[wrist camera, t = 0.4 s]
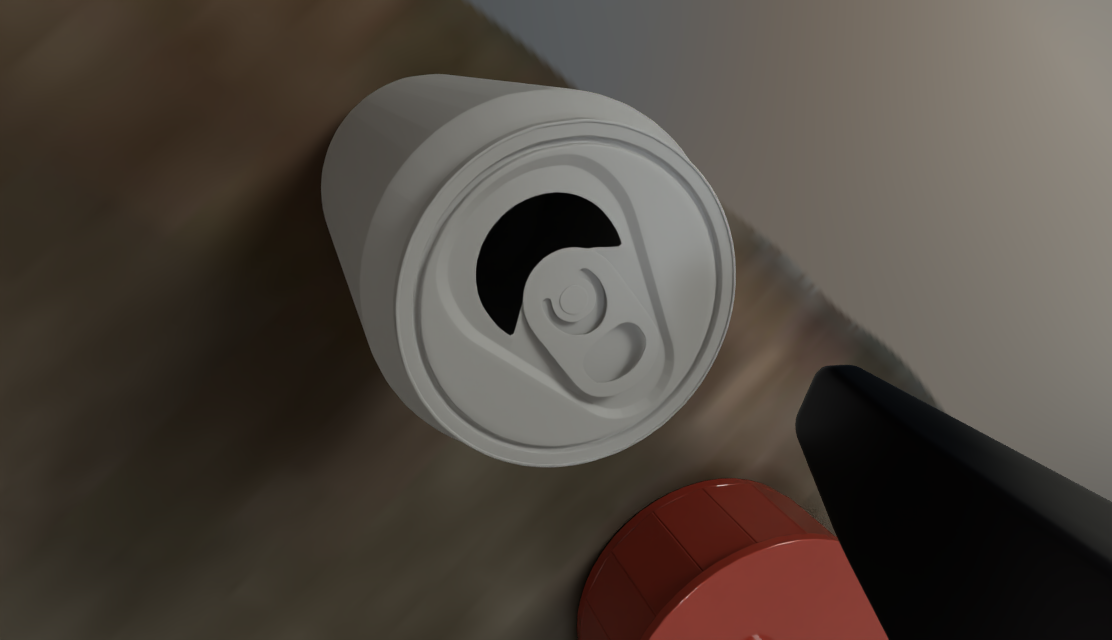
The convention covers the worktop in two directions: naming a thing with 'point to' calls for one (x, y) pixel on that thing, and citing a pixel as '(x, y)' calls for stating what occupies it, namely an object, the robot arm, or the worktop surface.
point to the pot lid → (772, 596)
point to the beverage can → (528, 263)
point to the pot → (679, 550)
